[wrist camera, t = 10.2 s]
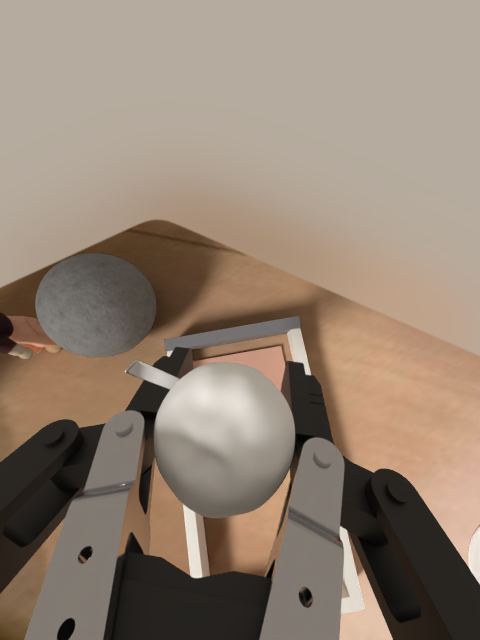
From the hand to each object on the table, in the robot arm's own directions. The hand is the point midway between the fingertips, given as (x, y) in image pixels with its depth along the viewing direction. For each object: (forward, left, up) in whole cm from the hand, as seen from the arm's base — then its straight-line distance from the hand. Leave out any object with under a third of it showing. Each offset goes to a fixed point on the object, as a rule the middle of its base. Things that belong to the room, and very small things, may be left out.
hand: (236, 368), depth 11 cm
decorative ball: (-13, +8, -15) cm, 21 cm away
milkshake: (-1, -2, -5) cm, 5 cm away
